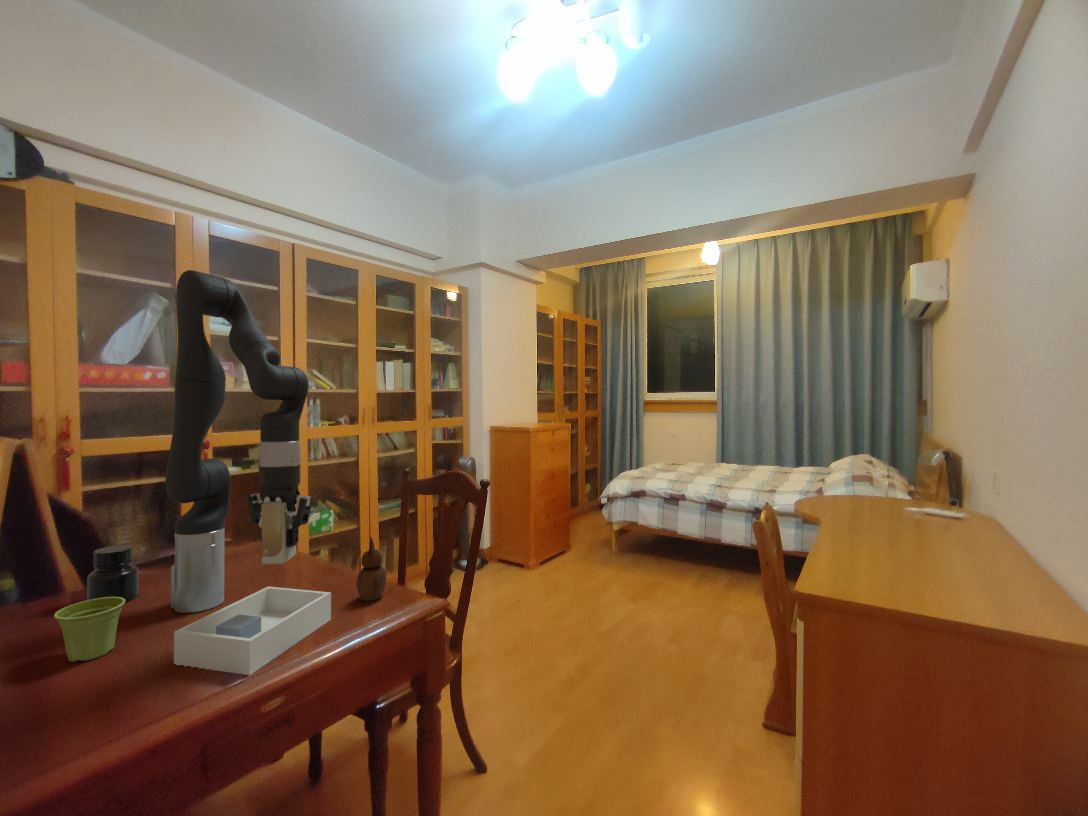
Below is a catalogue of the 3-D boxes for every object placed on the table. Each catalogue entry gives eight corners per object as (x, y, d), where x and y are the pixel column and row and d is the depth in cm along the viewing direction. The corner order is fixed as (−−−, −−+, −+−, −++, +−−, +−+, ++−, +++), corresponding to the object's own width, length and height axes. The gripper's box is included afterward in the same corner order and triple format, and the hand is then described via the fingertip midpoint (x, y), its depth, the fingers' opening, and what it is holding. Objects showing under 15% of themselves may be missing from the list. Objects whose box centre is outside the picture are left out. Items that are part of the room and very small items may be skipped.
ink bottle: (128, 589, 117) (129, 541, 117) (148, 596, 113) (148, 546, 113) (76, 604, 108) (77, 551, 108) (95, 611, 105) (96, 557, 105)
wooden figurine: (374, 605, 109) (375, 540, 109) (352, 602, 110) (352, 538, 110) (390, 593, 116) (390, 532, 116) (368, 591, 117) (369, 531, 117)
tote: (173, 664, 84) (174, 631, 84) (267, 612, 105) (268, 586, 105) (249, 675, 81) (250, 641, 81) (330, 619, 102) (331, 592, 102)
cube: (215, 653, 86) (215, 626, 86) (238, 640, 91) (238, 614, 91) (239, 656, 85) (239, 628, 85) (261, 643, 90) (261, 616, 90)
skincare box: (275, 554, 101) (275, 497, 101) (296, 554, 101) (297, 496, 101) (260, 564, 94) (260, 503, 94) (282, 564, 94) (283, 503, 94)
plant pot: (63, 673, 81) (63, 622, 80) (47, 658, 86) (47, 609, 86) (132, 650, 88) (133, 603, 88) (114, 636, 93) (114, 592, 93)
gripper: (235, 464, 95) (234, 548, 95) (297, 466, 92) (297, 553, 92) (263, 460, 103) (263, 538, 103) (322, 461, 100) (322, 542, 100)
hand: (279, 545), depth 98 cm, fingers closed on skincare box, 5 cm apart
